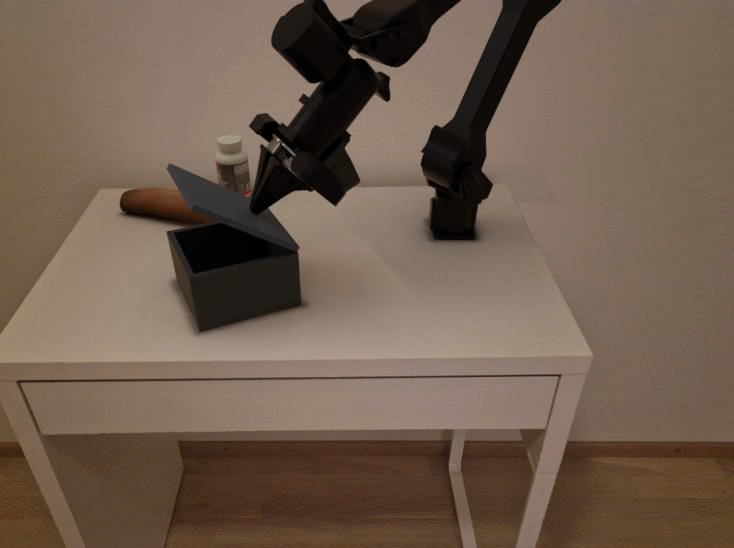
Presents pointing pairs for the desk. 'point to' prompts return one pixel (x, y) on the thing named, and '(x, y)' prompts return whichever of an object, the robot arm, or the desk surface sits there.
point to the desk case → (232, 274)
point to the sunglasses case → (160, 204)
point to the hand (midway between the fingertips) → (253, 212)
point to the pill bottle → (233, 165)
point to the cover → (229, 208)
